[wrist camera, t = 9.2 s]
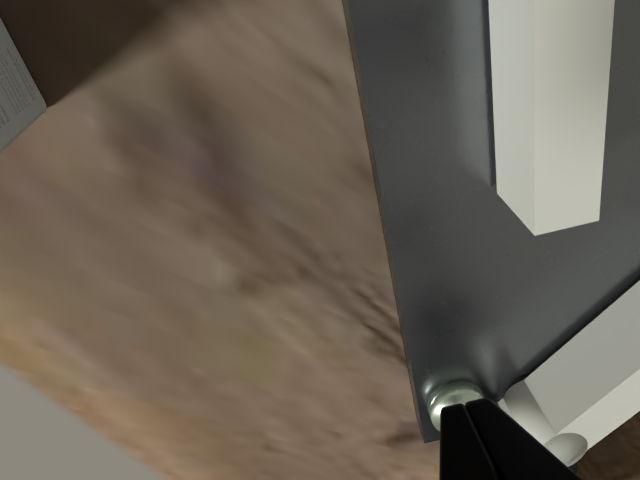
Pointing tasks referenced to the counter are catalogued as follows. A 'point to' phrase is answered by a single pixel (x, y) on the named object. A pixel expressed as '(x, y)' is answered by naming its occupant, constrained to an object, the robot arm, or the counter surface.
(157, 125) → the counter surface
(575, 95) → the off-white long bar
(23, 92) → the skincare box
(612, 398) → the white rectangular block
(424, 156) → the levelling base
